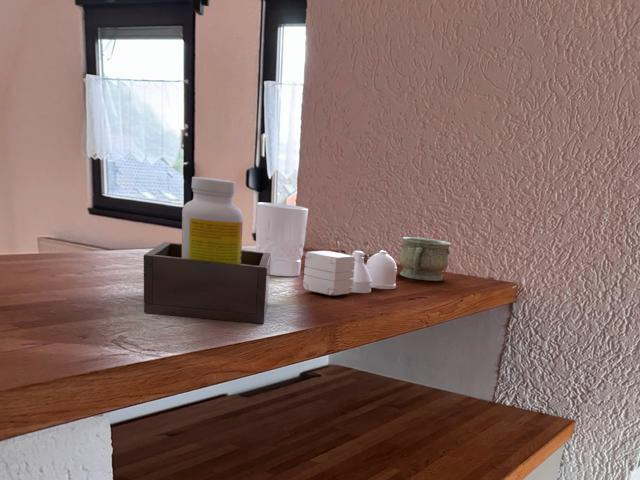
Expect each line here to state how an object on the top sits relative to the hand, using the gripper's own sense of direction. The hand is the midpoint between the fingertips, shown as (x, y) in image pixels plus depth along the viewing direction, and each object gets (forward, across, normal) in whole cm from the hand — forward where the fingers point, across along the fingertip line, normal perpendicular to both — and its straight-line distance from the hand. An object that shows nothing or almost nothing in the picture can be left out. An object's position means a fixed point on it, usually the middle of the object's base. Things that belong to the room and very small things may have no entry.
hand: (153, 6), depth 79 cm
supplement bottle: (+29, -8, +8) cm, 31 cm away
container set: (+30, -26, -16) cm, 43 cm away
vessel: (+30, -40, -38) cm, 62 cm away
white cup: (+30, -15, -24) cm, 42 cm away
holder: (+30, -8, +8) cm, 32 cm away
